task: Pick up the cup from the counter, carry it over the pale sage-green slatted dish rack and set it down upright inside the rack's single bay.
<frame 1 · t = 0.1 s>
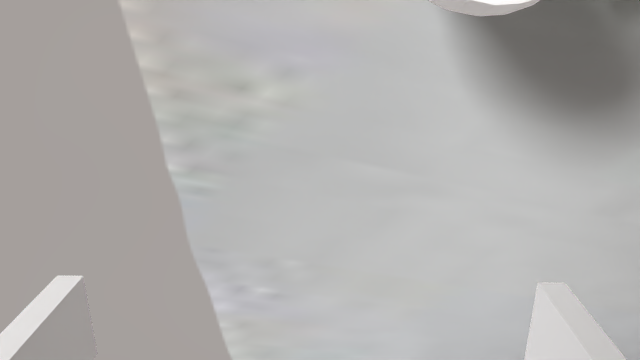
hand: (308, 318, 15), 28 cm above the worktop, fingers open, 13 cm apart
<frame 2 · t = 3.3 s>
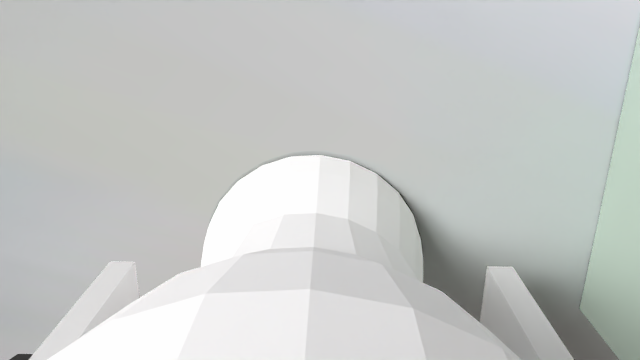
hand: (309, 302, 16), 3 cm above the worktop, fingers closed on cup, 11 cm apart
cup: (313, 253, 18), on the worktop, touching gripper
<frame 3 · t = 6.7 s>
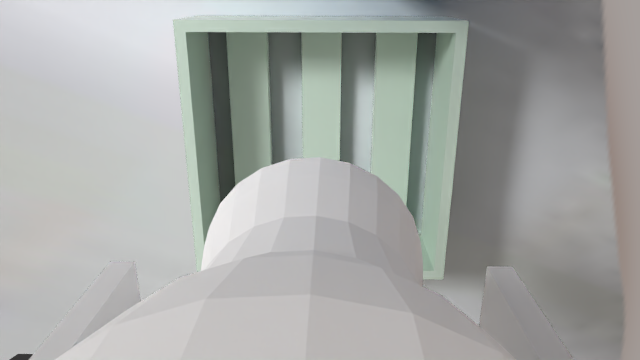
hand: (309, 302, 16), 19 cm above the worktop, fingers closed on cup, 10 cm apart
dish rack: (321, 137, 33), on the worktop
cup: (313, 255, 18), point 16 cm above the worktop, touching gripper
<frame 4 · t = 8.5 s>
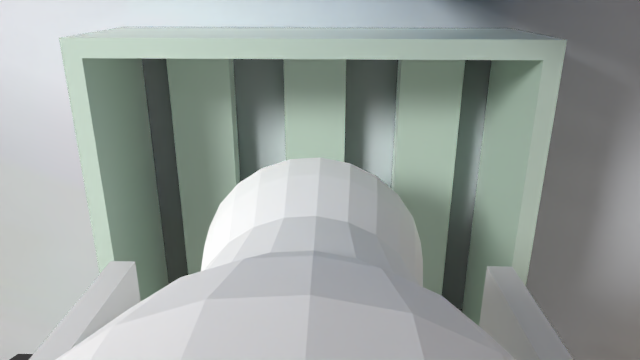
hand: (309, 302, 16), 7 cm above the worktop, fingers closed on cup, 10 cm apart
dish rack: (315, 205, 22), on the worktop
cup: (313, 255, 18), point 4 cm above the worktop, touching gripper
when the fingers open (6 cm above the worktop, at t = 9.9 s): cup drops 2 cm, resting on dish rack.
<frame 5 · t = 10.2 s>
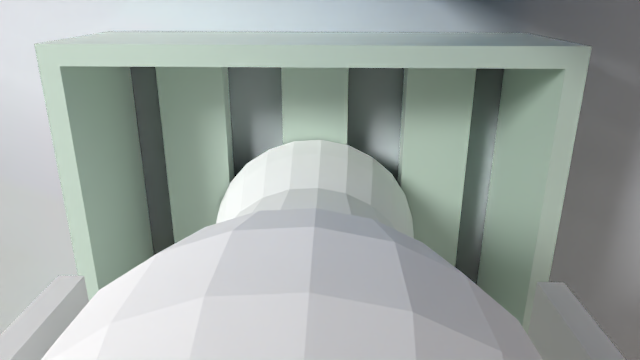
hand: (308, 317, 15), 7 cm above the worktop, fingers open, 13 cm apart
dish rack: (315, 221, 21), on the worktop
cup: (314, 230, 20), point 1 cm above the worktop, touching dish rack
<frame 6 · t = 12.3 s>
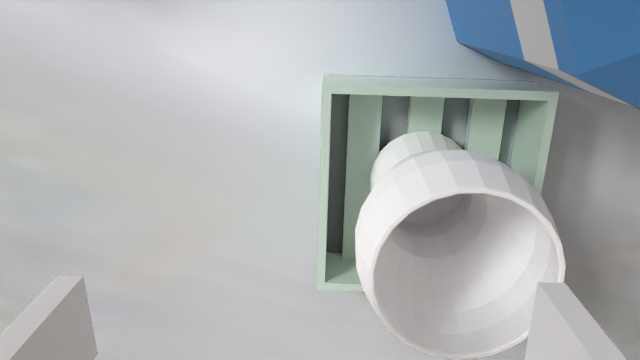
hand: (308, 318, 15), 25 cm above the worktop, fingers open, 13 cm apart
dish rack: (418, 175, 40), on the worktop
cup: (419, 179, 39), point 1 cm above the worktop, touching dish rack
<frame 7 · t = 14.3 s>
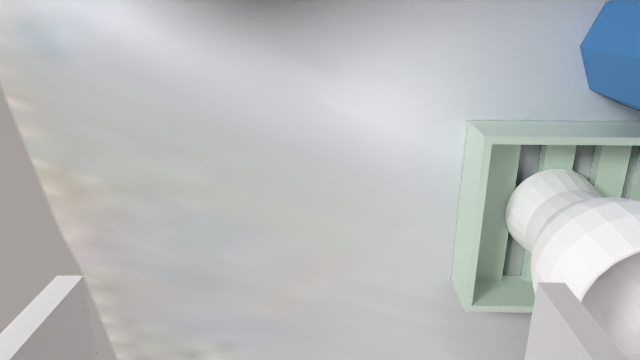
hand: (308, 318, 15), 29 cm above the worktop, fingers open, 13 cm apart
dish rack: (545, 205, 44), on the worktop
water bottle: (638, 46, 40), on the worktop
cup: (549, 209, 43), point 1 cm above the worktop, touching dish rack
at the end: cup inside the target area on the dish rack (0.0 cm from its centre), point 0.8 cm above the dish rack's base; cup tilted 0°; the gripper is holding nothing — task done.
